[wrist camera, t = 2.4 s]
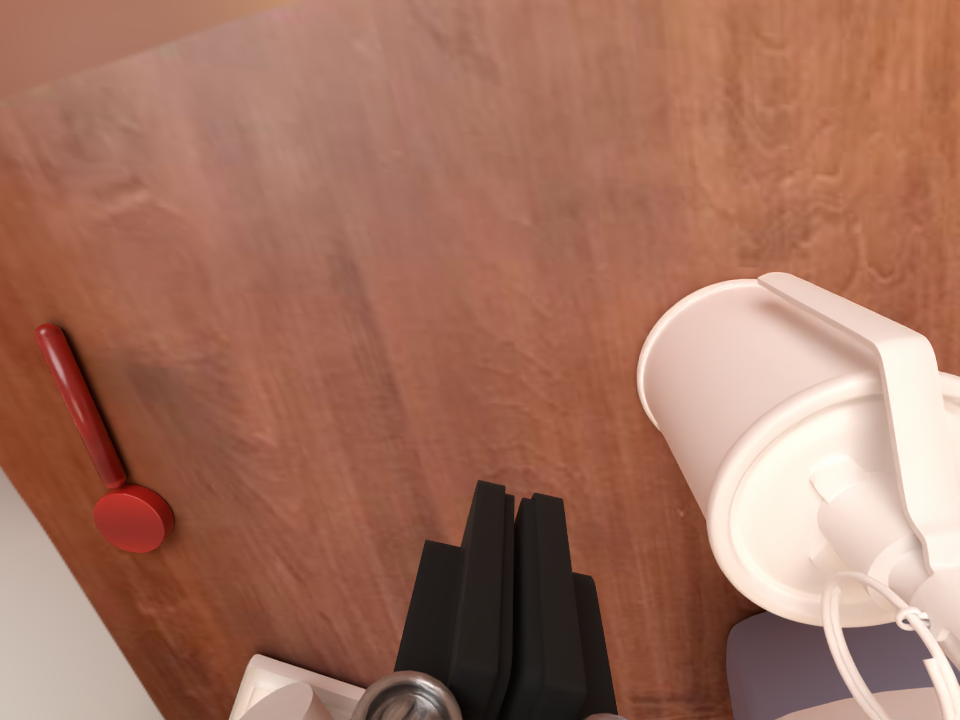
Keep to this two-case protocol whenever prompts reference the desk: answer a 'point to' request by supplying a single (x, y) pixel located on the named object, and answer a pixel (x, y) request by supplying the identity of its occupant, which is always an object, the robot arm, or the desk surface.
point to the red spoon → (105, 458)
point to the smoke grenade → (818, 461)
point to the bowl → (826, 671)
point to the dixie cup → (289, 705)
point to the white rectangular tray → (275, 674)
